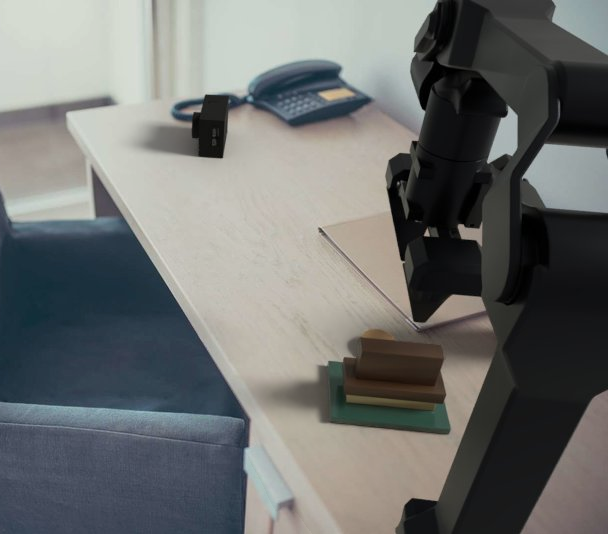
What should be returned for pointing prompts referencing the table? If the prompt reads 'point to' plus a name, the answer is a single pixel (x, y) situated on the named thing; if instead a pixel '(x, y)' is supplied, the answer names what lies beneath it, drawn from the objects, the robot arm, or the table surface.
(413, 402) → the brush
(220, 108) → the digital camera
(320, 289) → the table surface
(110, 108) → the table surface
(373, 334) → the cork disc
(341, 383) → the tile
